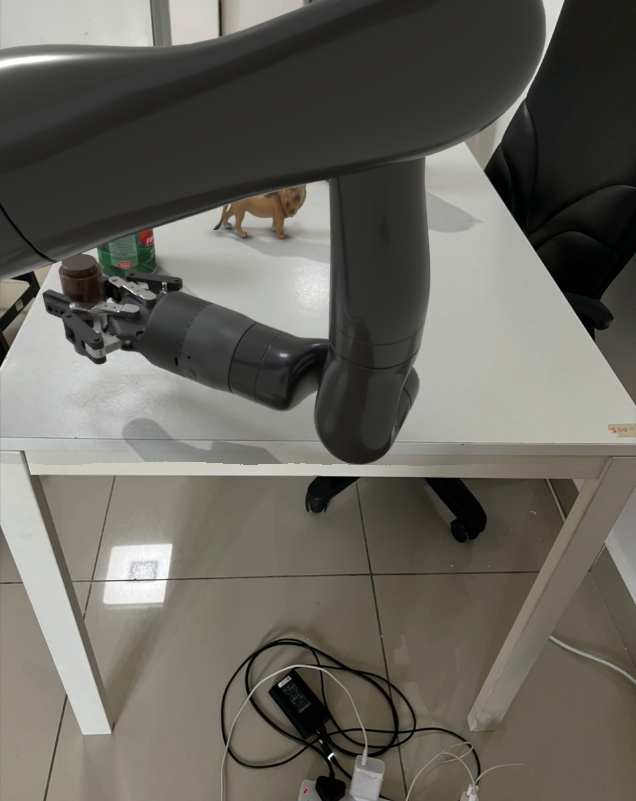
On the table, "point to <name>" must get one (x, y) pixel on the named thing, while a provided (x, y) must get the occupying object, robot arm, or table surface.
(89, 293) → the pepper mill
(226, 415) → the table surface
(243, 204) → the lion figurine
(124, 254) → the canned tomato
